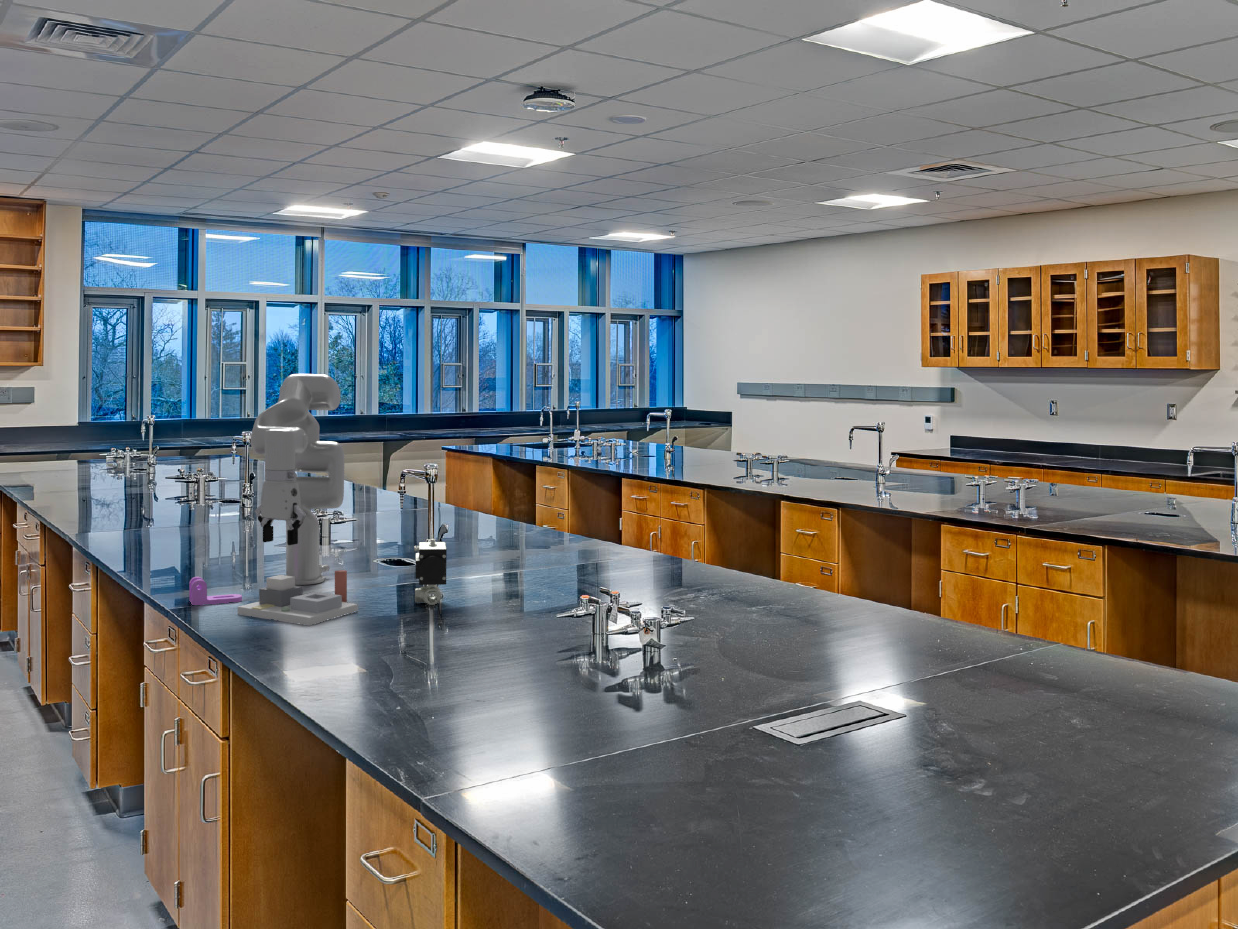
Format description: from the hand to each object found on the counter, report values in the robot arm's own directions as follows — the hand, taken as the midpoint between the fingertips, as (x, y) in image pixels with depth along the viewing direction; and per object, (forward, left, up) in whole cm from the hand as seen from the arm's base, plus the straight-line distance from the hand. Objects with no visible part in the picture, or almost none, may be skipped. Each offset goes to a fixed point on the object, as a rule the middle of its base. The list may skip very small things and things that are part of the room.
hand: (280, 542), depth 265 cm
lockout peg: (-14, +8, -18) cm, 24 cm away
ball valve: (-27, +28, -18) cm, 43 cm away
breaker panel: (0, +6, -18) cm, 19 cm away
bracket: (+1, -22, -18) cm, 29 cm away
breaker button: (0, 0, -13) cm, 13 cm away
